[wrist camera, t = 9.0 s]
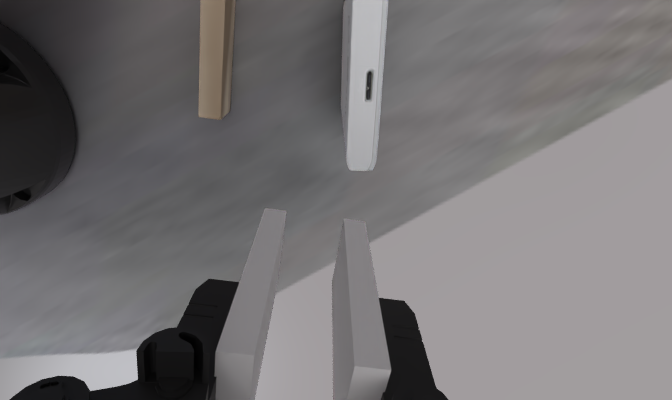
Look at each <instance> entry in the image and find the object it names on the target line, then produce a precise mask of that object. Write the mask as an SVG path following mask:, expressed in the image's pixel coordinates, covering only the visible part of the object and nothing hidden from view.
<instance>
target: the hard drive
mask: <svg viewBox="0 0 672 400" xmlns="http://www.w3.org/2000/svg"><path fill="white" fill-rule="evenodd" d="M387 14H388V0H345V2H344V5H343V34H342V76H341V114H342V123H343V132H344V141H345V150H346V161H347V165H348V168H349V170H352V171H372V170H373V168H374V166H375V163H376V159H377V149H378V138H379V125H380V112H381V98H382V83H383V70H384V55H385V42H386V28H387Z"/></svg>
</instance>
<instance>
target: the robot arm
mask: <svg viewBox="0 0 672 400" xmlns="http://www.w3.org/2000/svg"><path fill="white" fill-rule="evenodd" d="M74 150H75V127H74V121H73V116H72V112H71V109H70V106H69V103H68V100H67V98H66V96H65V94H64V91H63V89H62V88H61V86H60V84H59V82H58V80H57V79H56V77H55V76H54V74H53V73H52V71H51V70H50V68H49V67H48V66H47V64H46V63H45V62H44V61H43V59H42V58H41V57H40V56H39V55H38V54H37V53H36V52H35V51H34V50H33V49H32V48H31V47H30V46H29V45H28V44H27V43H26V42H25V41H24V40H23V39H21V38H20V37H19V36H18V35H17V34H15V33H14V32H12V31H11V30H10V29H8V28H7V27H5V26H4V25H2V24H1V23H0V215H2V214H6V213H10V212H13V211H16V210H18V209H21V208H23V207H25V206H27V205H29V204H31V203H32V202H34V201H36V200H37V199H39V198H41V197H42V196H44V195H45V194H47V193H48V192H50V191H51V190H53V189H54V188H55V187H56V186H57V185H58V184H59V183H60V182H61V180H62V179H63V178H64V176H65V175H66V173H67V171H68V169H69V167H70V165H71V162H72V159H73V155H74ZM286 213H287V211H284V210H277V209H270V208H265V209H264V212H263V215H262V218H261V221H260V223H259V226H258V229H257V232H256V235H255V238H254V241H253V244H252V247H251V250H250V253H249V256H248V258H247V261H246V264H245V267H244V270H243V273H242V276H241V279H240V282H231V281H223V280H215V279H208V280H207V281H206V282H204V283H203V284H202V285H201V286H199V287H198V288H197V289H196V290H195V292H194V294H193V296H192V298H191V300H190V302H189V305H188V306H187V308H186V310H185V312H184V315H183V317H182V318H181V320H180V322H179V324H178V326H177V328H168V329H165V330H162V331H159V332H156V333H154V334H153V335H151V336H150V337H148V338H147V339H146V340H144V341H143V342H142V344H141V345H140V347H139V348H138V349H137V366H138V367H137V368H138V380H136V381H134V382H132V383H129V384H126V385H122V386H118V387H112V388H107V389H101V390H95V391H90V390H89V389H88V387H87V385H86V384H85V382H84V381H81V380H80V379H77V378H75V377H71V376H56V377H52V378H47V379H42V380H40V381H38V382H36V383H34V384H32V385H29V386H27V387H25V388H24V389H23V390H21V391H20V392H19V393H18V394H16V395H15V396H13V397H12V398H11V399H10V400H255V395H256V389H257V385H258V379H259V374H260V369H261V364H262V359H263V354H264V348H265V344H266V339H267V334H268V329H269V323H270V319H271V313H272V309H273V303H274V298H275V293H276V288H277V283H278V278H279V271H280V263H281V255H282V246H283V238H284V229H285V221H286ZM332 318H333V319H332V321H333V400H448V399H447V398H446V396H445V395H444V394H443V393H442V392H441V391H439V390H438V389H437V388H436V386H435V383H434V379H433V376H432V372H431V369H430V365H429V362H428V359H427V355H426V351H425V348H424V344H423V342H422V338H421V334H420V331H419V330H418V324H417V320H416V317H415V314H414V312H413V311H412V310H411V309H410V308H409V306H408V305H407V304H406V303H405V301H399V300H392V299H383V298H379V297H378V292H377V286H376V280H375V275H374V269H373V264H372V258H371V252H370V246H369V241H368V235H367V229H366V224H365V221H359V220H351V219H344V221H343V226H342V231H341V237H340V242H339V248H338V253H337V258H336V264H335V269H334V274H333V280H332Z"/></svg>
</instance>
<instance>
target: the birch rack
mask: <svg viewBox="0 0 672 400" xmlns="http://www.w3.org/2000/svg"><path fill="white" fill-rule="evenodd" d="M235 3H236V0H201V7H200V63H199V117H203V118H209V119H216V120H221V119H222V118H223V117H224V116H225V115H227V114H228V113H229V112H230V103H231V83H232V63H233V43H234V23H235Z"/></svg>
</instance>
